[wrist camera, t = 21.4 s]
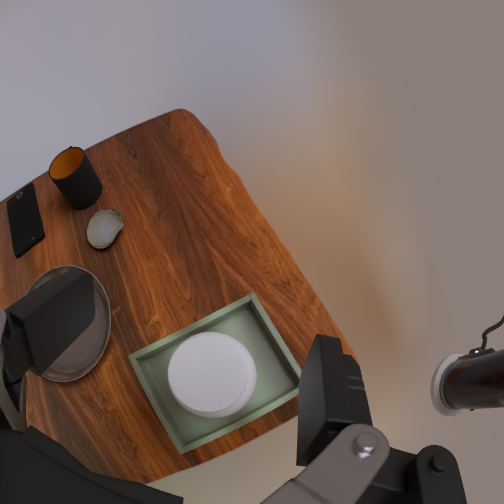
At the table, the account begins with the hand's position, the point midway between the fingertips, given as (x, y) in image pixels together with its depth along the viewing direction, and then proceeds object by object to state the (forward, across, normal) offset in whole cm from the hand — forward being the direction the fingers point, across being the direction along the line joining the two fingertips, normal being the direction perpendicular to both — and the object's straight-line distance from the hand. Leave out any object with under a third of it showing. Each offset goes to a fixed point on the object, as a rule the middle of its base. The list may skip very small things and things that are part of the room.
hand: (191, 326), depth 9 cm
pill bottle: (+12, 0, +14) cm, 19 cm away
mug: (+45, +40, +8) cm, 60 cm away
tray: (+25, 0, +27) cm, 37 cm away
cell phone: (+37, +53, +15) cm, 66 cm away
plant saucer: (+25, +29, +27) cm, 47 cm away
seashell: (+38, +28, +14) cm, 50 cm away
